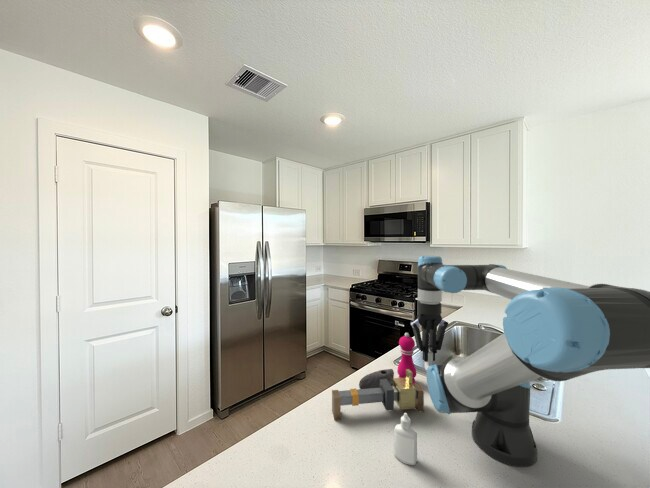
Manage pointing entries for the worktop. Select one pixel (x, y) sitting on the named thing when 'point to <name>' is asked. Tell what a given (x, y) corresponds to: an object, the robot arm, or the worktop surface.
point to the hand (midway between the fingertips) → (428, 370)
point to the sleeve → (405, 391)
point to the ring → (387, 394)
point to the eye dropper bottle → (405, 442)
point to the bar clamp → (369, 398)
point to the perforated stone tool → (376, 379)
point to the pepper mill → (406, 357)
